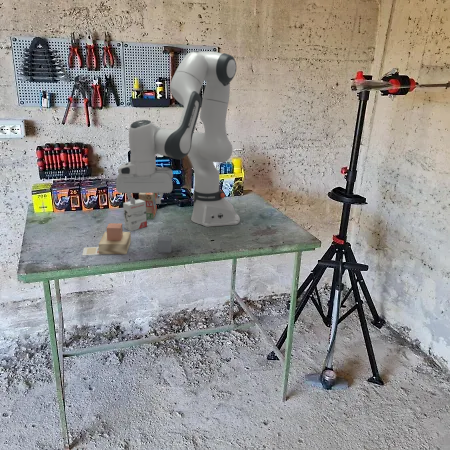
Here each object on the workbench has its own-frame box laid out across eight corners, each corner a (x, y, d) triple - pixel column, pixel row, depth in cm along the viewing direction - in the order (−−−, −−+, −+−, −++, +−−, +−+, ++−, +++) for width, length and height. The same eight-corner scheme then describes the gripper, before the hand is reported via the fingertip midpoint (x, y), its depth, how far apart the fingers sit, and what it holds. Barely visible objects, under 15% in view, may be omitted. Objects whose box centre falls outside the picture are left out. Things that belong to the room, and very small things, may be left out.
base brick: (131, 241, 166) (130, 232, 165) (126, 254, 155) (126, 244, 154) (105, 241, 166) (104, 231, 164) (99, 253, 154) (98, 244, 153)
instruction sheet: (108, 246, 161) (108, 246, 161) (107, 254, 155) (107, 253, 155) (84, 247, 159) (84, 247, 159) (82, 255, 153) (82, 255, 153)
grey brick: (171, 247, 163) (171, 235, 161) (171, 252, 158) (170, 240, 156) (158, 247, 162) (158, 235, 160) (157, 252, 158) (157, 240, 156)
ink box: (141, 223, 185) (139, 198, 180) (147, 226, 182) (146, 201, 177) (124, 228, 179) (122, 202, 175) (130, 231, 176) (128, 205, 172)
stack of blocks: (146, 204, 210) (145, 180, 205) (158, 204, 210) (158, 181, 205) (139, 219, 190) (138, 193, 185) (153, 219, 190) (152, 194, 186)
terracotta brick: (122, 235, 161) (122, 223, 160) (120, 240, 157) (120, 228, 155) (109, 235, 161) (108, 223, 159) (107, 240, 156) (106, 228, 155)
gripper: (173, 165, 152) (174, 200, 157) (116, 165, 151) (120, 201, 156) (172, 169, 146) (173, 206, 152) (113, 169, 145) (116, 206, 151)
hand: (145, 203), depth 154 cm, fingers open, 8 cm apart
